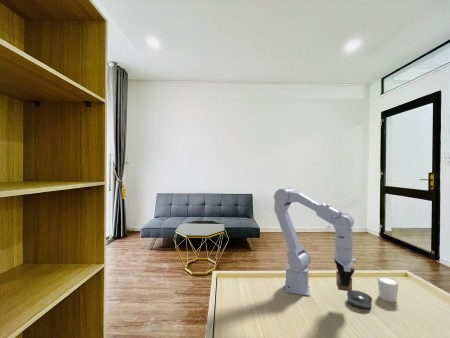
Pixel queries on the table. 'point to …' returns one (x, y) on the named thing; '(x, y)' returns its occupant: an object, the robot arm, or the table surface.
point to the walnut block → (339, 285)
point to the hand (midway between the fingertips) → (343, 282)
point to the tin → (359, 300)
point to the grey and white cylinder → (388, 288)
